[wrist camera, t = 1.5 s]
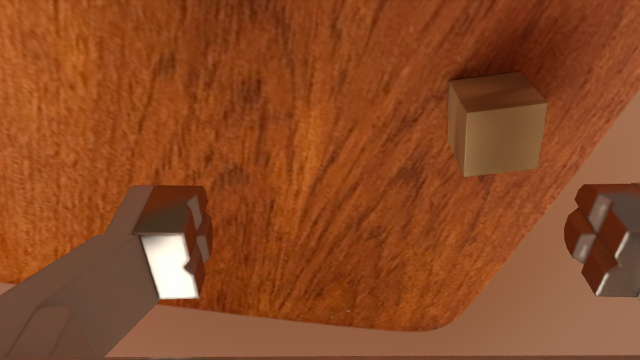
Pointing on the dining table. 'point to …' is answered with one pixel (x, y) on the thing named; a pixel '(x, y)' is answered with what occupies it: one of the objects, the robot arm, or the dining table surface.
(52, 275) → the robot arm
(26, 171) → the dining table surface
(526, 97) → the block
